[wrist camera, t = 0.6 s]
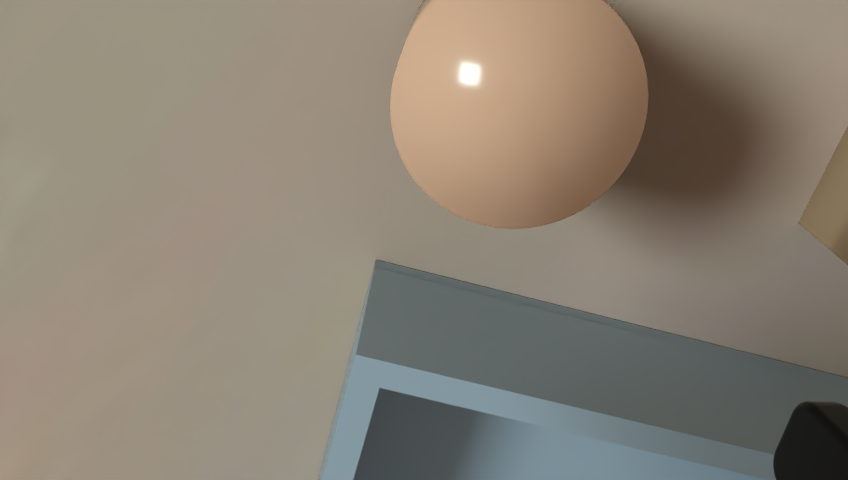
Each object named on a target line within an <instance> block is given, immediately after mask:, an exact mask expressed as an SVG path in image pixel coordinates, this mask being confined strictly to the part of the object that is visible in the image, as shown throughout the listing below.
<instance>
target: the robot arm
mask: <svg viewBox="0 0 848 480" xmlns="http://www.w3.org/2000/svg"><path fill="white" fill-rule="evenodd" d="M773 469H774V474H775V478H776V480H848V407H846V406H845V405H843V404H840V403H837V402H824V401H805V402H801V403H800V404H798V405H797V406H796V407H795V408H794V410H793V412H792V414H791V416H790V419H789V421H788V423H787V425H786V428H785V430H784V432H783V435H782V437H781V439H780V441H779V444H778V446H777V448H776V450H775V453H774V459H773Z"/></svg>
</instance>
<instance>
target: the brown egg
mask: <svg viewBox="0 0 848 480" xmlns="http://www.w3.org/2000/svg"><path fill="white" fill-rule="evenodd" d="M647 111H648V81H647V74H646V70H645V65H644V60H643V58H642V55H641V52H640V50H639V47H638V44H637V43H636V41H635V39H634V37H633V35H632V33H631V32H630V30H629V28H628V27H627V26H626V24H625V23H624V22H623V20H622V19H621V18H620V16H619V15H618V14H617V13H616V12H615V11H614V10H613V9H612V8H611V7H610V6H609V5H608V4H607V3H605V2H604V1H603V0H424V1H423V2H422V4H421V5H420V7H419V9H418V11H417V13H416V16H415V18H414V20H413V23H412V26H411V29H410V31H409V34H408V37H407V40H406V42H405V45H404V48H403V51H402V53H401V56H400V59H399V62H398V65H397V68H396V71H395V74H394V78H393V84H392V90H391V101H390V114H391V125H392V130H393V135H394V139H395V143H396V146H397V148H398V151H399V154H400V157H401V159H402V161H403V162H404V164H405V166H406V168H407V170H408V172H409V173H410V175H411V176H412V177H413V179H414V180H415V182H416V183H417V184H418V185H419V186H420V187H421V189H422V190H423V191H424V192H425V193H426V194H427V195H428V196H429V197H430V198H432V199H433V200H434V201H435V202H436V203H438V204H439V205H440V206H442V207H443V208H445V209H446V210H448V211H450V212H451V213H453V214H455V215H457V216H459V217H461V218H463V219H466V220H468V221H471V222H474V223H477V224H480V225H485V226H490V227H495V228H507V229H519V228H531V227H537V226H543V225H547V224H550V223H553V222H557V221H560V220H562V219H564V218H567V217H569V216H571V215H574V214H575V213H577V212H579V211H581V210H582V209H584V208H586V207H587V206H589V205H590V204H592V203H593V202H594V201H596V200H597V199H598V198H600V197H601V196H602V195H603V194H604V193H605V192H606V191H607V190H608V189H609V188H610V187H611V186H612V185H613V184H614V183H615V182H616V181H617V179H618V178H619V177H620V176H621V174H622V173H623V172H624V170H625V169H626V167H627V166H628V164H629V163H630V161H631V159H632V158H633V156H634V153H635V151H636V149H637V147H638V145H639V143H640V140H641V136H642V133H643V130H644V127H645V122H646V117H647Z"/></svg>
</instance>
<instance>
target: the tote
mask: <svg viewBox="0 0 848 480" xmlns="http://www.w3.org/2000/svg"><path fill="white" fill-rule="evenodd" d="M805 401H824V402H837V403H840V404H843V405H845V406H846V407H848V378H846V377H842V376H838V375H834V374H830V373H826V372H822V371H818V370H814V369H810V368H806V367H802V366H798V365H794V364H790V363H786V362H782V361H778V360H774V359H770V358H766V357H762V356H758V355H754V354H750V353H746V352H742V351H738V350H734V349H730V348H726V347H722V346H718V345H714V344H710V343H706V342H702V341H698V340H694V339H690V338H686V337H682V336H678V335H674V334H670V333H666V332H662V331H658V330H654V329H650V328H647V327H643V326H639V325H635V324H631V323H627V322H623V321H619V320H615V319H611V318H607V317H603V316H599V315H595V314H591V313H587V312H583V311H579V310H575V309H571V308H567V307H563V306H559V305H555V304H551V303H547V302H543V301H539V300H535V299H531V298H527V297H523V296H519V295H515V294H511V293H507V292H503V291H499V290H495V289H491V288H487V287H483V286H479V285H475V284H471V283H467V282H463V281H459V280H455V279H451V278H447V277H443V276H439V275H435V274H431V273H427V272H423V271H419V270H415V269H411V268H407V267H403V266H399V265H395V264H391V263H387V262H383V261H379V260H376V262H375V266H374V270H373V273H372V277H371V281H370V285H369V289H368V293H367V296H366V300H365V304H364V308H363V312H362V315H361V319H360V323H359V327H358V331H357V334H356V338H355V342H354V346H353V350H352V354H351V357H350V361H349V365H348V369H347V373H346V376H345V380H344V384H343V388H342V392H341V395H340V399H339V403H338V407H337V411H336V414H335V418H334V422H333V426H332V430H331V434H330V437H329V441H328V445H327V449H326V453H325V456H324V460H323V464H322V468H321V472H320V475H319V479H318V480H776V478H775V474H774V469H773V459H774V453H775V450H776V448H777V446H778V444H779V441H780V439H781V437H782V435H783V432H784V430H785V428H786V425H787V423H788V421H789V419H790V416H791V414H792V412H793V410H794V408H795V407H796V406H797V405H798V404H800V403H801V402H805Z"/></svg>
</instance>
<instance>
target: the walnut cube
mask: <svg viewBox="0 0 848 480" xmlns="http://www.w3.org/2000/svg"><path fill="white" fill-rule="evenodd" d="M798 223H799V224H800V225H801V226H802V227H804V228H805V229H806V230H807V231H808V232H809V233H811V234H812V235H813V236H814V237H815V238H817V239H818V240H819V241H820V242H821V243H823V244H824V245H825V246H826V247H827V248H828V249H830V250H831V251H832V252H833V253H834V254H836V255H837V256H838V257H839V258H840V259H842V260H843V261H844V262H845V263H846V264H847V265H848V127H847V129H846V131H845V133H844V135H843V137H842V139H841V141H840V143H839V145H838V147H837V148H836V150H835V152H834V154H833V156H832V158H831V160H830V162H829V164H828V166H827V168H826V170H825V172H824V174H823V176H822V178H821V180H820V182H819V184H818V185H817V187H816V189H815V191H814V193H813V195H812V197H811V199H810V201H809V203H808V205H807V207H806V209H805V211H804V213H803V215H802V217H801V219H800V221H799V222H798Z"/></svg>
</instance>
